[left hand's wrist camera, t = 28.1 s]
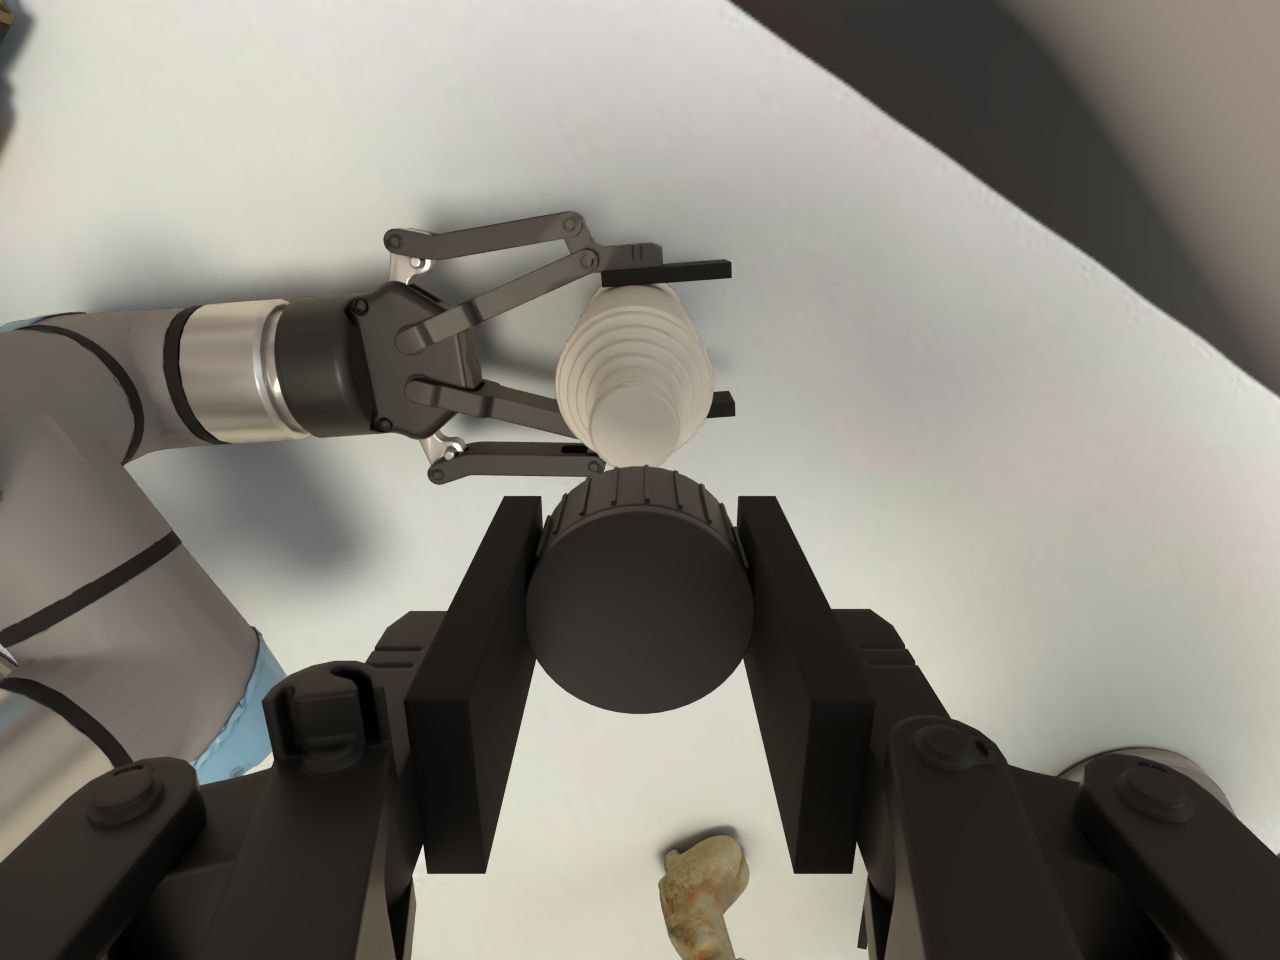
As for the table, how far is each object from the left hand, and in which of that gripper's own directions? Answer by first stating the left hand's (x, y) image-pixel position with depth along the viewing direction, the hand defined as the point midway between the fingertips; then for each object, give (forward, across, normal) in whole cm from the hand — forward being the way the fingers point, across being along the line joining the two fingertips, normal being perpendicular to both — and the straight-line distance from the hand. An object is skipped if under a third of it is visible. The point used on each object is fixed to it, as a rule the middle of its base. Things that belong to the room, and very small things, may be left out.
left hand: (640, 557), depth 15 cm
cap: (-2, 0, 0) cm, 2 cm away
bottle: (+31, 0, 0) cm, 31 cm away
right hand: (+25, -5, -1) cm, 25 cm away
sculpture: (+32, -5, +43) cm, 54 cm away
